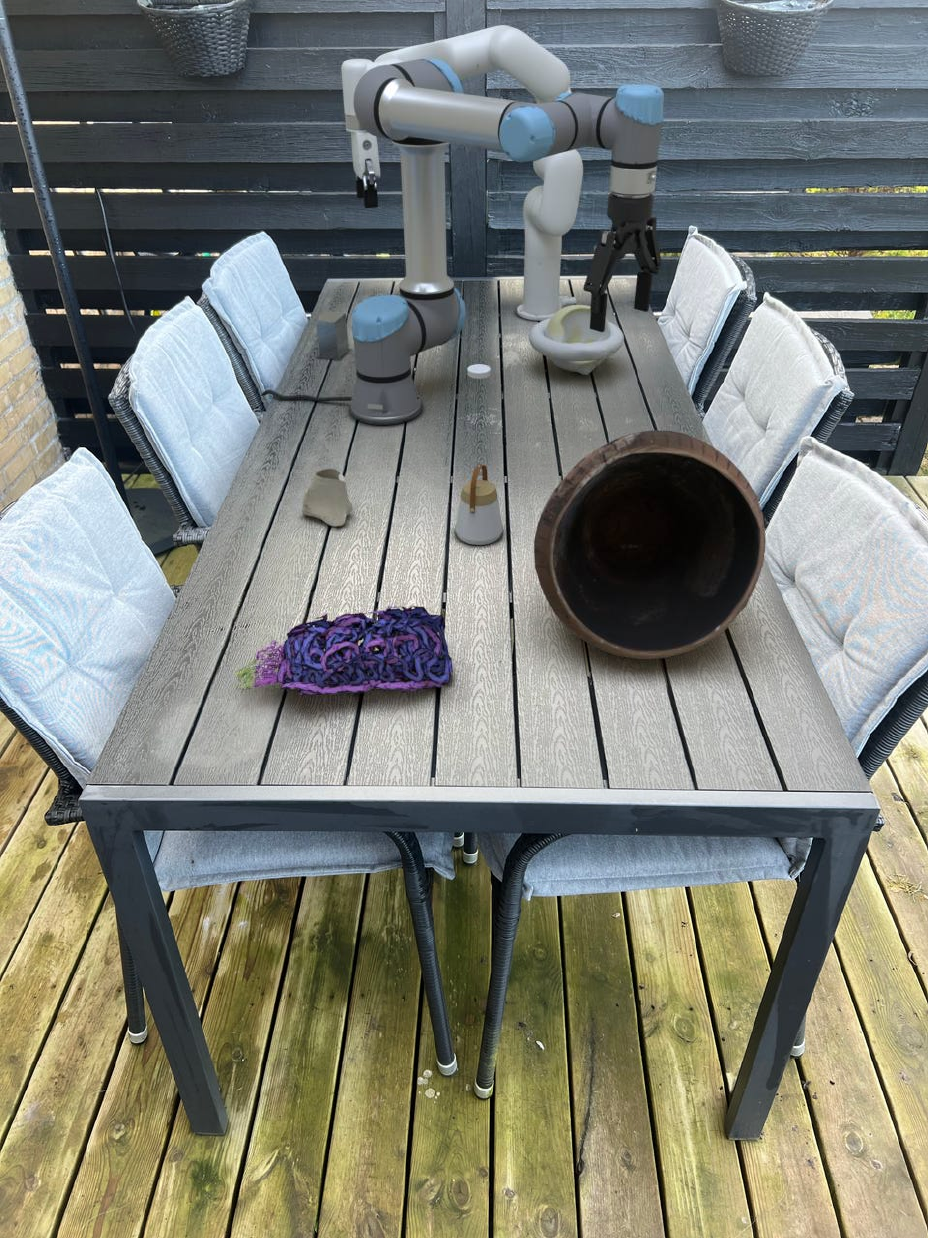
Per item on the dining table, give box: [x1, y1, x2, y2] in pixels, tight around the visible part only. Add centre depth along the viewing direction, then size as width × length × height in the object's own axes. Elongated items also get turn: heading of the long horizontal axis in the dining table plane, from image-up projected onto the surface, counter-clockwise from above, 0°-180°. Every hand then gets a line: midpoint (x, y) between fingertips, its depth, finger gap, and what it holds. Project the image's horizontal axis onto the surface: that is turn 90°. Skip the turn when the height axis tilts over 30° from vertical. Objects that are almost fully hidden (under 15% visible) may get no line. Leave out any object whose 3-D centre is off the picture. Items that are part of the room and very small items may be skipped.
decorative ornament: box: [235, 605, 454, 697], centre depth 129 cm, size 13×11×30 cm
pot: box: [533, 429, 767, 660], centre depth 139 cm, size 32×32×30 cm
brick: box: [315, 310, 350, 361], centre depth 226 cm, size 7×5×9 cm
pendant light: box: [455, 363, 503, 546], centre depth 153 cm, size 8×8×30 cm
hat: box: [528, 304, 625, 376], centre depth 215 cm, size 25×22×15 cm
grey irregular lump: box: [301, 468, 353, 528], centre depth 164 cm, size 9×8×10 cm
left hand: (619, 319), depth 167 cm, fingers open, 13 cm apart
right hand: (367, 202), depth 222 cm, fingers open, 9 cm apart
